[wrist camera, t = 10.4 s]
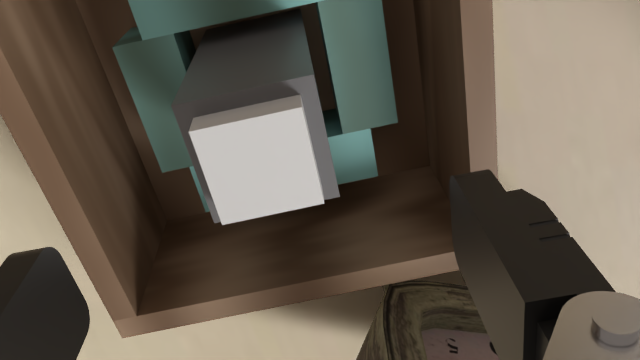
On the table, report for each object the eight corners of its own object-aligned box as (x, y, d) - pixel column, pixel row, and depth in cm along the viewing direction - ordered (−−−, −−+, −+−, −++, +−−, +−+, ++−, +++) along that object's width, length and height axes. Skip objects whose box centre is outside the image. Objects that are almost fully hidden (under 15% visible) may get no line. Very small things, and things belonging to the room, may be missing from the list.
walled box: (414, -183, 21) (485, -215, 14) (445, 169, 29) (500, 261, 22) (20, -92, 21) (-104, -79, 14) (158, 229, 29) (122, 338, 22)
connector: (300, 8, 23) (316, 86, 14) (319, 98, 25) (343, 213, 16) (206, 29, 23) (164, 119, 14) (233, 116, 25) (211, 241, 16)
